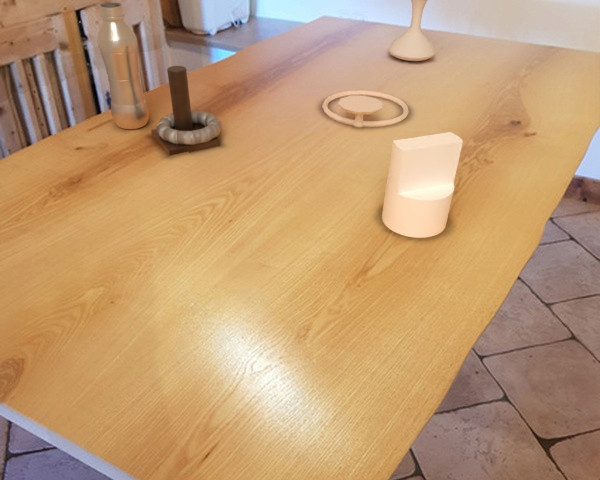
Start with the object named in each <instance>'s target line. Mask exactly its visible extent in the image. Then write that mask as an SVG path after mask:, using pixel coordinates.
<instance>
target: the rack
mask: <svg viewBox="0 0 600 480" xmlns="http://www.w3.org/2000/svg"><path fill="white" fill-rule="evenodd" d="M187 71H188V70H187V67H186V66H183V65H172V66H169V67H167V68H166V72H167V79H168V87H169V94H170V101H171V108H172V113H173V117H174V124H175V127H173V128H171V129H175V130H178V131H193V130H199V129H203V128H205V127H207V126H205V125H202V124H192V115H191V111H192V108H191V99H190V89H189V80H188V72H187ZM150 132H151V137H152V138H153V139H154V141H155V143H157V144H158V146H159V147H161V148H162V151H164V152H165V153H166V155H167V156H168V157H170V156H176V155H179V154H184V153H185V154H186V153H193V152H194V153H195V152H198V151H203V150H207V149H212V148H216V147H220V146H221V142H220V138H219V137H218V136H217V137H215V138H213V139H212V140H210V141H208V142H204V143H199V144H194V145H180V144H174V143H171V142H168V141H165V140H163V139H162V137H161V136H160V135H159V134H158V133H157V130H156V128H155V129H151V130H150Z"/></svg>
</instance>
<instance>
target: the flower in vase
mask: <svg viewBox="0 0 600 480" xmlns="http://www.w3.org/2000/svg"><path fill="white" fill-rule="evenodd" d="M410 1H411V9H412V10H411V19H410V24H409V28H408V29H407V30H406V31H405V32H404V33H403V34H401V35H400V36H398V37H397V38H395V40H393V41H392V42H391V44H389V46H388V49H387V50H388V53H389V54H390V55H391V56H393V57H395V58H397V59H399V60H403V61H410V62H420V61H426V60H429V59H431V58H433V57H434V56H435V55H436V48H435V46H434V45H433V43H432V41H430V39H428V37H427V36H426V35H425V34H424V33H423V31H422V28H421V27H422V26H421V24H422V17H423V12H424V9H425V6H426V4H427V2H428V0H410Z"/></svg>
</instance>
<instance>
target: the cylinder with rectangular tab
mask: <svg viewBox="0 0 600 480" xmlns="http://www.w3.org/2000/svg"><path fill="white" fill-rule="evenodd" d="M463 143H464V141H463V139H462V138H461V137H460V136H459V135H457V134H456V133H453V132H451V131H447V132H442V133H434V134H429V135H422V136H414V137H408V138H402V139H394V140H392V146H391V153H390V159H389V160H390V161H389V168H388V175H387V178H386V184H385V190H384V197H383V206H382V214H381V220H382V221H381V222H383V224H384V226H385V227H387V228H388V229H389V230H390V231H392V232H394V233H395V234H398V235H402V236H403V237H410V238H420V239H424V238H431V237H434V236H436V235H439V234H441V233H442V232H443V231H444V230H445V229H446V226H447V222H448V218H449V214H450V210H451V204H452V200H453V196H454V192H455V178H456V174H457V170H458V165H459V161H460V157H461V152H462V147H463Z"/></svg>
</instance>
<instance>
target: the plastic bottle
mask: <svg viewBox="0 0 600 480" xmlns="http://www.w3.org/2000/svg"><path fill="white" fill-rule="evenodd" d="M98 9H99V13H100V14H99V16H100V19H101V20H102V24H101V26H100V28H99V31H98V32H97V38H96V39H97V46H98V49H99V52H100V55H101V58H102V61H103V64H104V67H105V71H106V75H107V79H108V80H107V81H108V84H109V93H110V100H111V101H110V113H111V116H112V120H113V122H114V123H115V124H116V125H117V126H118V127H119V128H121V129H125V130H137V129H140V128H142V127H145V126H146V125H147V124H148V122H149V120H150V110H149V107H148V103H147V100H146V99H145V94H144V92H143V87H142V83H141V77H140V68H139V48H138V46H139V45H138V39H137V35H136V34H135V32H134V31H133V30H132V28H131V27H130V25H129V24H127V22H126V21H125V18H126V14H125V12H124V7H123V4H122V3H120V2H114V1H113V2H112V1H111V2H109V1H108V2H102V3H100V4H99V5H98Z"/></svg>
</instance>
